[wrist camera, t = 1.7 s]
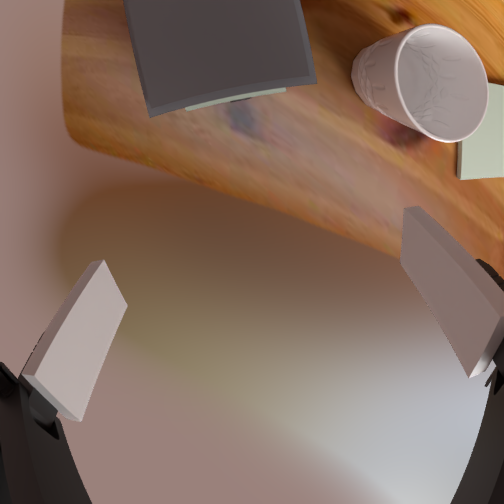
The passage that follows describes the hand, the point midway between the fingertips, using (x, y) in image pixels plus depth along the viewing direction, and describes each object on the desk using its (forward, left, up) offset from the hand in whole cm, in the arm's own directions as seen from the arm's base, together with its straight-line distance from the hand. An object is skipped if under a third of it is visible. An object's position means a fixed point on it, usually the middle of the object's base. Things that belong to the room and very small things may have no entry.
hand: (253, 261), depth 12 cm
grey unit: (-11, 0, -16) cm, 20 cm away
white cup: (-6, +13, -16) cm, 22 cm away
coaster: (-1, +27, -16) cm, 32 cm away
